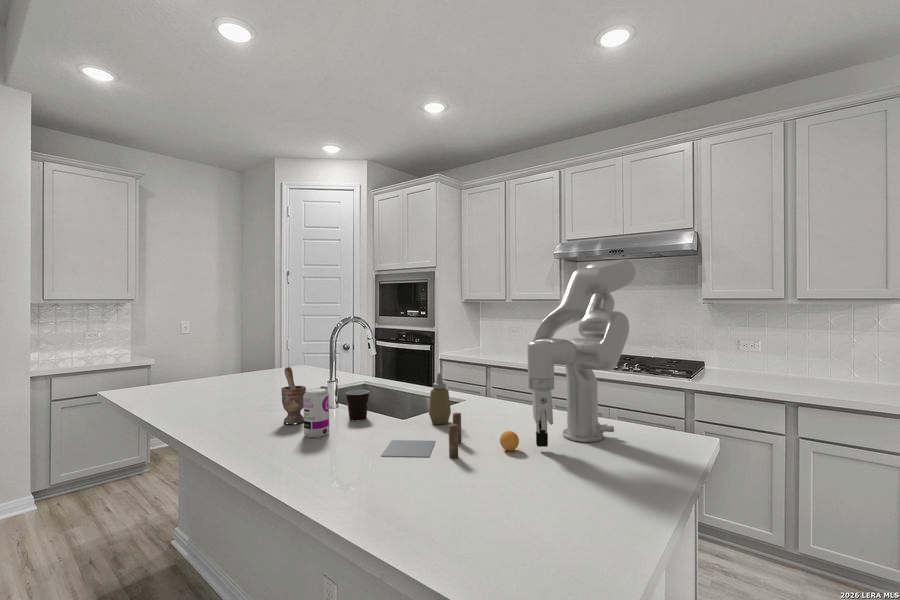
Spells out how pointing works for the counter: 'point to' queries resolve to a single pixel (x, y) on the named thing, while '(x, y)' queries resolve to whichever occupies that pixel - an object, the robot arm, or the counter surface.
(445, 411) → the squeeze bottle
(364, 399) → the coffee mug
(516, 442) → the ball
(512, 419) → the counter surface
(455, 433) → the post
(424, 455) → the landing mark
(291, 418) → the mortar and pestle
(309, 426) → the supplement can
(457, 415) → the post
